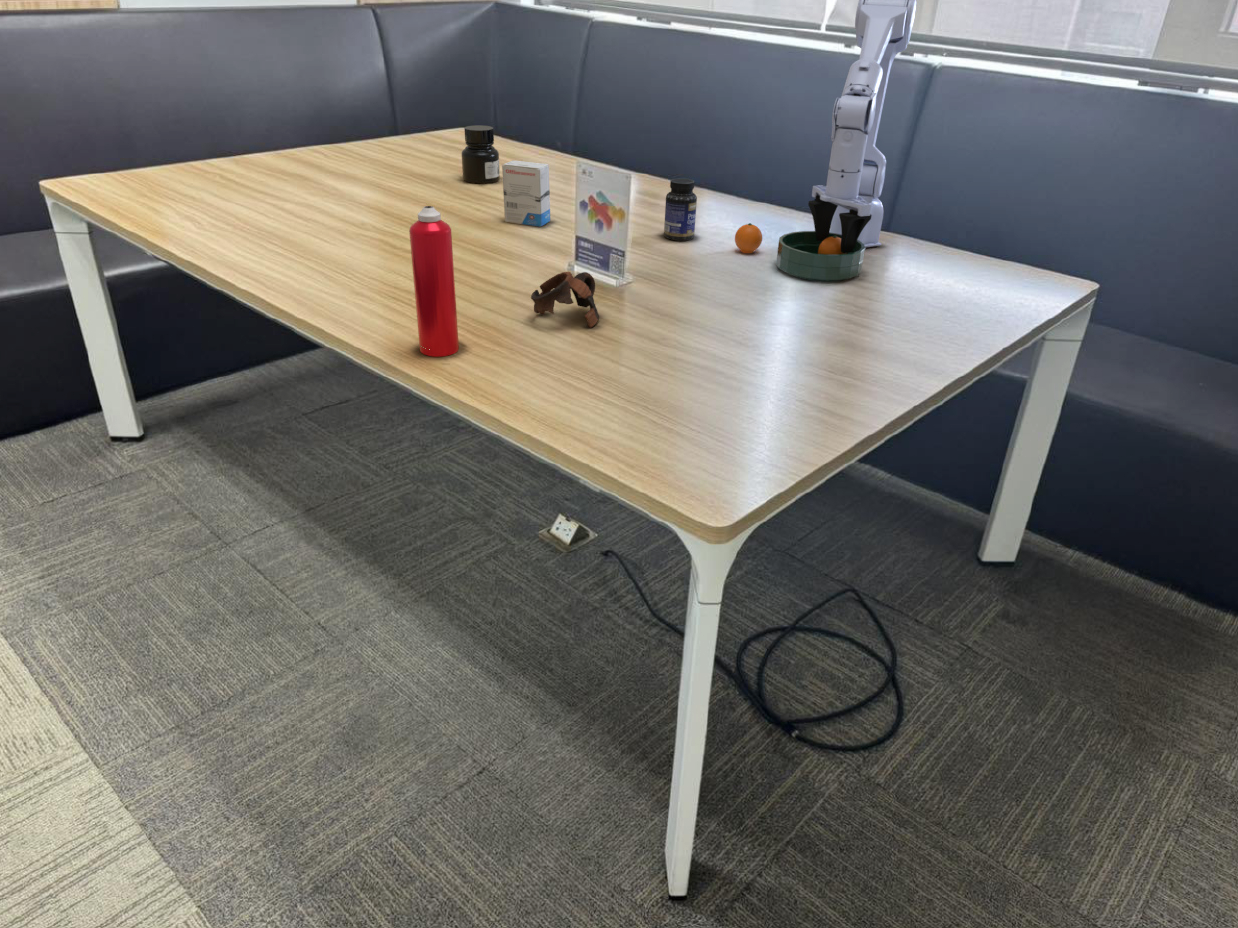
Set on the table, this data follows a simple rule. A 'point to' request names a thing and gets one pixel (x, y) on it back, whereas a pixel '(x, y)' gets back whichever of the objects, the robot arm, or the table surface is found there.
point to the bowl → (816, 258)
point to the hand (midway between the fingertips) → (833, 246)
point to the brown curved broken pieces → (567, 294)
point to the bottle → (434, 284)
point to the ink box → (526, 193)
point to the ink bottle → (480, 155)
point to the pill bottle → (680, 210)
